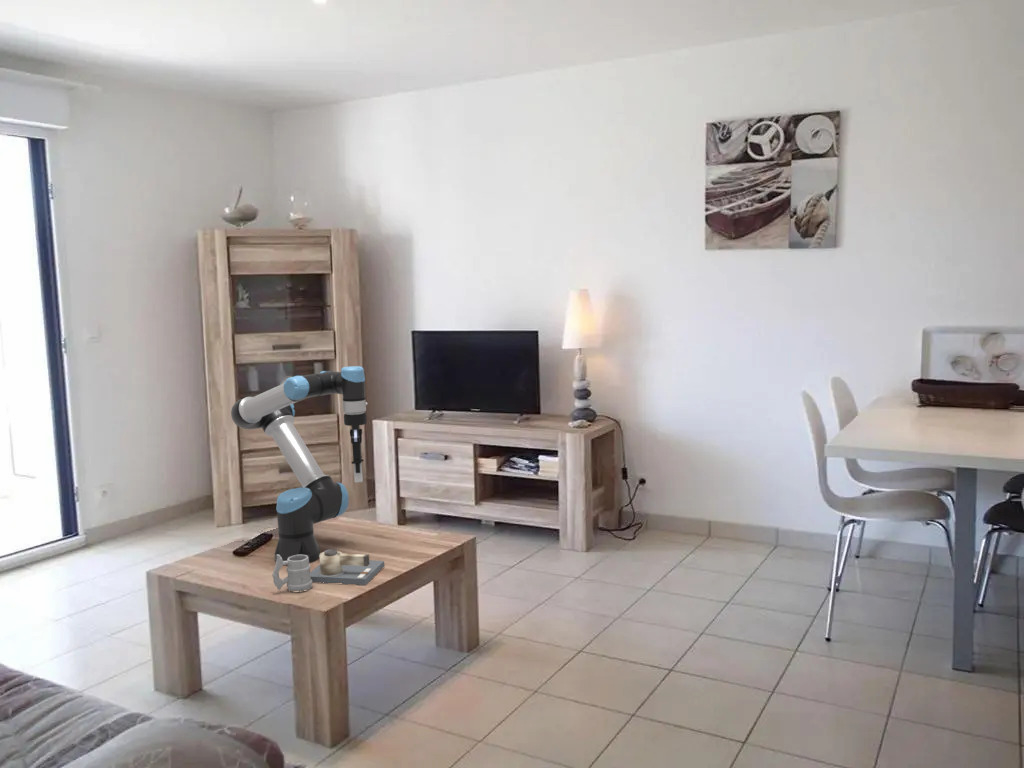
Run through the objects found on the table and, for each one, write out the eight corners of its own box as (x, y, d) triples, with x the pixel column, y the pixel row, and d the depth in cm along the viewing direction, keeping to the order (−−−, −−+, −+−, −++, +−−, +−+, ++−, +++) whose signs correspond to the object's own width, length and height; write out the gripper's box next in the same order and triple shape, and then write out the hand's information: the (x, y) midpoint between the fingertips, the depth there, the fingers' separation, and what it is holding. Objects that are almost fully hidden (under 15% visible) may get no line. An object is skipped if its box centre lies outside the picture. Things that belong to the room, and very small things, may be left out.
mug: (315, 589, 260) (313, 552, 259) (276, 597, 255) (274, 559, 253) (308, 582, 267) (306, 545, 265) (270, 590, 261) (268, 552, 260)
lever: (316, 574, 267) (315, 554, 266) (326, 567, 274) (325, 547, 273) (364, 577, 263) (363, 556, 262) (372, 569, 270) (371, 549, 269)
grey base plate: (305, 582, 267) (305, 574, 266) (327, 564, 283) (327, 557, 283) (365, 585, 263) (365, 577, 262) (384, 566, 279) (384, 559, 279)
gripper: (365, 415, 278) (369, 485, 281) (366, 409, 290) (370, 476, 293) (342, 416, 276) (346, 486, 279) (344, 410, 289) (348, 477, 292)
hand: (358, 481), depth 286 cm, fingers closed
